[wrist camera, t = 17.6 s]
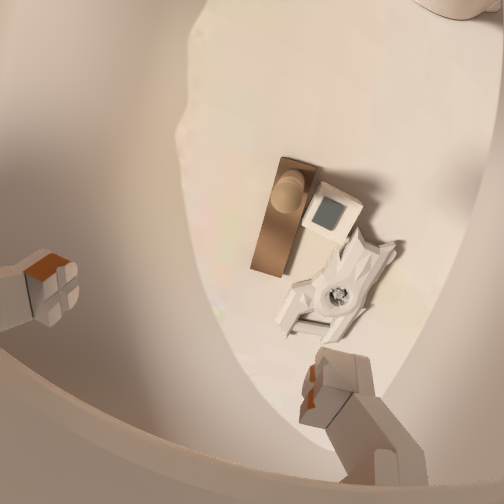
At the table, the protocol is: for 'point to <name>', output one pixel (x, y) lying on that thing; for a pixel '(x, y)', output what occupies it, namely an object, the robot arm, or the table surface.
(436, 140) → the table surface
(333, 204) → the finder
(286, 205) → the tan rounded rod
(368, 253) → the gun
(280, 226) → the bar
